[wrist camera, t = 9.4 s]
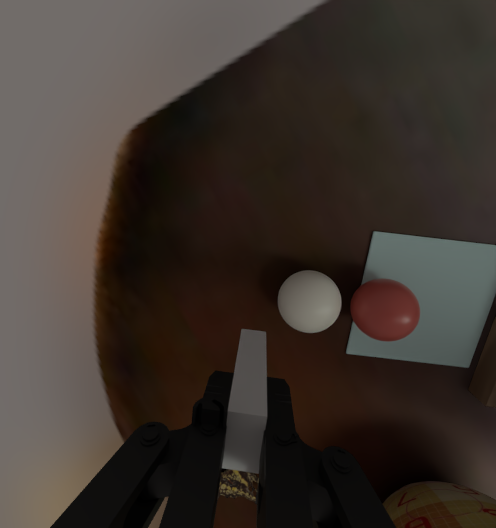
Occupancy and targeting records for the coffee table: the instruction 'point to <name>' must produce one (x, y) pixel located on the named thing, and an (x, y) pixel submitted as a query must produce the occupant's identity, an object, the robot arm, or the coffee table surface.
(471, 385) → the strip
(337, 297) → the white ball
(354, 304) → the red ball
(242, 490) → the butterfly
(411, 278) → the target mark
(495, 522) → the bowl
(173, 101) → the coffee table surface
